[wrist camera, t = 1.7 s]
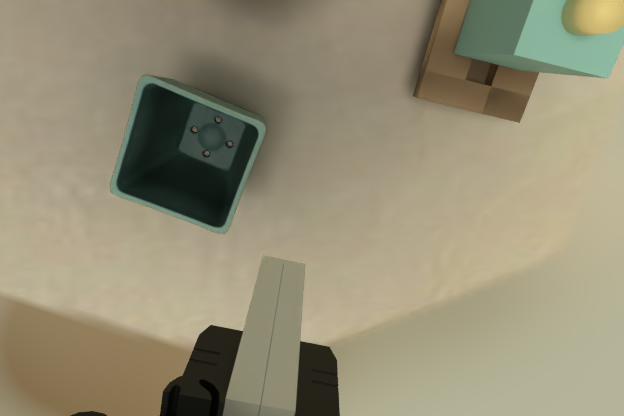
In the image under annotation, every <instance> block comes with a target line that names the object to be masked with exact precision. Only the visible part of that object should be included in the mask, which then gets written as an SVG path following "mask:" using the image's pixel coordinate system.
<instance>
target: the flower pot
mask: <svg viewBox="0 0 624 416" xmlns="http://www.w3.org/2000/svg"><path fill="white" fill-rule="evenodd" d="M216 117H219V118H220V119H221V122H220V123H217V122H216V121H215V118H216ZM192 127H196V128H197V130H198V131H197V132H196V133H193V132H192V130H191V129H192ZM265 133H266V124H265V121H264V119H263V118H262V117H261V116H259V115H256V114H254V113H252V112H249V111H247V110H244V109H242V108H239V107H237V106H235V105H232V104H230V103H227V102H225V101H223V100H220V99H218V98H215V97H213V96H211V95H208V94H206V93H204V92H201V91H199V90H196V89H194V88H192V87H189V86H187V85H185V84H182V83H180V82H178V81H175V80H172V79H168V78H163V77H157V76H151V75H143V76H142V77H141V78H140V80H139V82H138V85H137V88H136V93H135V97H134V100H133V104H132V108H131V112H130V116H129V120H128V124H127V127H126V131H125V134H124V138H123V142H122V145H121V148H120V152H119V155H118V158H117V162H116V165H115V169H114V172H113V176H112V179H111V183H110V191H111V193H112V194H114V195H117V196H119V197H121V198H124V199H127V200H130V201H133V202H135V203H138V204H141V205H144V206H146V207H150V208H152V209H155V210H158V211H161V212H163V213H166V214H169V215H171V216H174V217H176V218H179V219H182V220H185V221H187V222H190V223H192V224H195V225H198V226H200V227H203V228H205V229H208V230H210V231H212V232H215V233H219V234H225V233H227V232H228V230H229V228H230V225H231V222H232V219H233V217H234V214H235V211H236V208H237V206H238V203H239V200H240V198H241V195H242V192H243V189H244V187H245V184H246V182H247V179H248V176H249V174H250V171H251V169H252V166H253V163H254V161H255V158H256V156H257V153H258V151H259V148H260V146H261V144H262V141H263V139H264V136H265ZM228 141H231V142H232V144H233V145H232V147H228V146H227V142H228ZM204 151H208V152H209V156H207V157H206V156H204Z"/></svg>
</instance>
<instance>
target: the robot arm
mask: <svg viewBox="0 0 624 416" xmlns="http://www.w3.org/2000/svg"><path fill="white" fill-rule="evenodd" d="M283 263H284V264H283ZM304 276H305V264H302V263H297V262H292V261H287V260H282V259H277V258H272V257H268V256H263V257H262V261H261V265H260V269H259V273H258V277H257V280H256V284H255V288H254V292H253V296H252V299H251V303H250V307H249V311H248V315H247V319H246V322H245V326H244V330H243V331H239V330H234V329H229V328H223V327H218V326H213V325H210V326H209V327H208V328H207V329H206V330H204V331H203V332H202V333H201V334H200V335H199V337H198V339H197V342H196V344H195V347H194V350H193V352H192V354H191V357H190V359H189V362H188V364H187V366H186V369H185V371H184V374H183V376H180V377H178V378H176V379H175V380H173V381H172V382H170V383H169V384H168V385H167V387H166V388H165V389H164V391H163V396H162V404H161V412H160V416H340V413H339V393H338V377H337V360H336V358H335V356H334V354H333V352H332V351H331V349H330V347H327V346H322V345H317V344H312V343H307V342H302V341H300V336H301V321H302V306H303V291H304ZM71 416H107V415H105V414H103V413H98V412H94V411H90V412H79V413H76V414H74V415H71Z"/></svg>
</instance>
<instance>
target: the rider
mask: <svg viewBox="0 0 624 416" xmlns="http://www.w3.org/2000/svg"><path fill="white" fill-rule="evenodd" d="M623 43H624V0H471V1H470V4H469V7H468V10H467V13H466V16H465V20H464V23H463V26H462V29H461V32H460V35H459V38H458V41H457V45H456V48H455V51H454V54H457V55H461V56H465V57H469V58H473V59H477V60H481V61H485V62H489V63H493V64H497V65H501V66H505V67H509V68H513V69H517V70H521V71H532V72H543V73H554V74H565V75H576V76H587V77H598V78H609V75H610V73H611V71H612V68H613V66H614V64H615V62H616V59H617V57H618V55H619V52H620V50H621V48H622V46H623Z"/></svg>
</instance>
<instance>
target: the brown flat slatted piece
mask: <svg viewBox="0 0 624 416" xmlns="http://www.w3.org/2000/svg"><path fill="white" fill-rule="evenodd" d="M470 1H471V0H442V1H441V4H440V8H439V11H438V14H437V18H436V21H435V24H434V28H433V31H432V34H431V38H430V41H429V44H428V48H427V51H426V54H425V58H424V61H423V64H422V68H421V71H420V74H419V78H418V81H417V84H416V88H415V91H414V94H413V96H414V97H416V98H419V99H424V100H428V101H432V102H436V103H440V104H444V105H448V106H453V107H457V108H461V109H465V110H469V111H473V112H477V113H482V114H486V115H490V116H494V117H498V118H502V119H506V120H511V121H515V122H519V123H520V120H521V118H522V115H523V113H524V110H525V108H526V105H527V102H528V100H529V97H530V95H531V92H532V89H533V87H534V84H535V82H536V79H537V77H538V74H539V72H532V71H521V70H517V69H513V68H509V67H505V66H501V65H497V64H493V63H489V62H485V61H481V60H477V59H473V58H469V57H465V56H461V55H457V54H454V51H455V48H456V45H457V41H458V38H459V35H460V32H461V29H462V26H463V23H464V20H465V16H466V13H467V10H468V7H469V4H470Z"/></svg>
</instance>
